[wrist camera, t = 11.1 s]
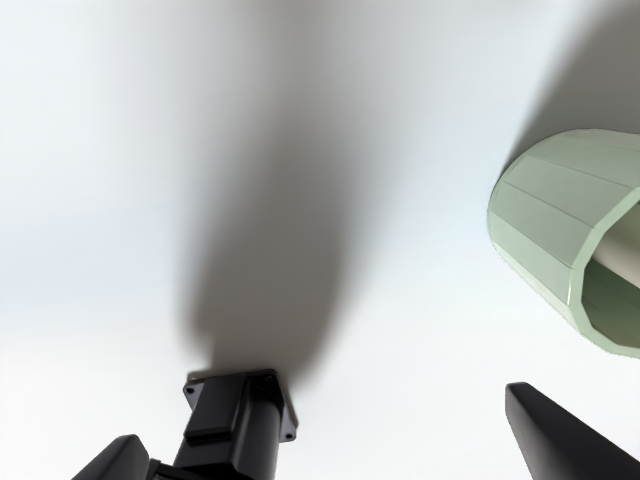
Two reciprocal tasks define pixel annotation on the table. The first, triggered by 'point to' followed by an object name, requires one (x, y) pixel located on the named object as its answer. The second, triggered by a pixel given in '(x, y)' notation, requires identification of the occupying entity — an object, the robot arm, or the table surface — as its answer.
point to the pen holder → (572, 229)
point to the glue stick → (622, 247)
